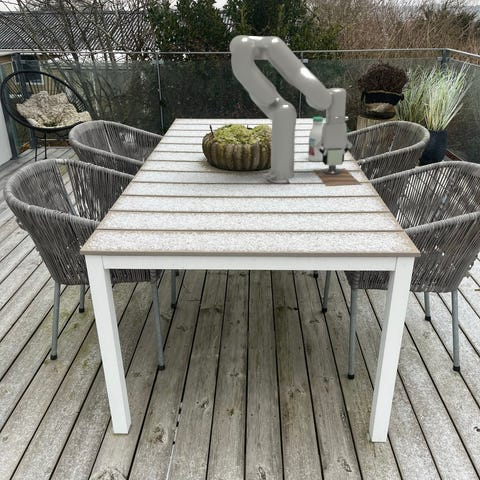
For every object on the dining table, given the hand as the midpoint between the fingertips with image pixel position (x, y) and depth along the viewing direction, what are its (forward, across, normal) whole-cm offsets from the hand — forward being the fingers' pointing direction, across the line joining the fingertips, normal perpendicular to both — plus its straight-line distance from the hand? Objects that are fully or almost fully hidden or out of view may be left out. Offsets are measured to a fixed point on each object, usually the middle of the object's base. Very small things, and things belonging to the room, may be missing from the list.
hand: (333, 163), depth 197 cm
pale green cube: (0, 0, 0) cm, 0 cm away
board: (+5, 0, +6) cm, 8 cm away
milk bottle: (+6, 0, -28) cm, 29 cm away
